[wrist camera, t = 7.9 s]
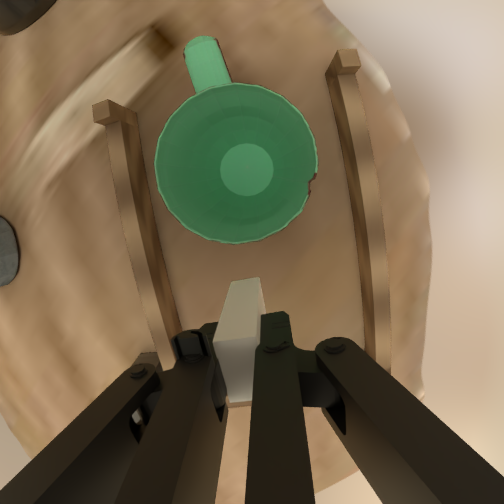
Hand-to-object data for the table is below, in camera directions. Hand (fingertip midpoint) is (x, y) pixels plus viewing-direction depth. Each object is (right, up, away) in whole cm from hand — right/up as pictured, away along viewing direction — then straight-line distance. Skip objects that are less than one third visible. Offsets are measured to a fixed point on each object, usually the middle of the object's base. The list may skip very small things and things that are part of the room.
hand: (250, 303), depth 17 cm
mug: (-1, +12, +11) cm, 16 cm away
